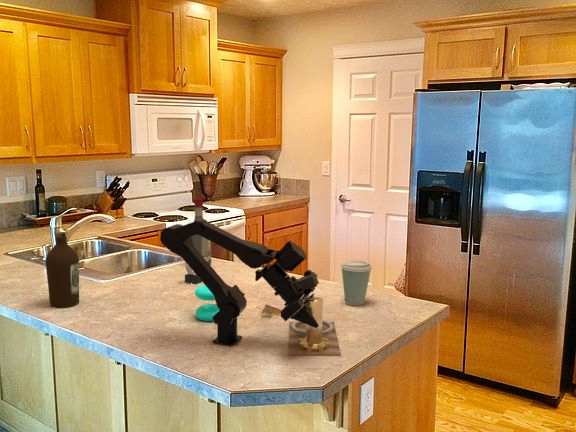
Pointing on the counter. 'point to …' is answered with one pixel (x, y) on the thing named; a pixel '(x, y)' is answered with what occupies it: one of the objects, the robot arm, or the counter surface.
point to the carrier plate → (299, 331)
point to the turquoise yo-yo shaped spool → (209, 309)
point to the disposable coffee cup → (355, 281)
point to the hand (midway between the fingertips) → (319, 324)
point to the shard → (270, 312)
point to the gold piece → (314, 335)
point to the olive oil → (62, 274)
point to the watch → (191, 276)
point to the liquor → (199, 241)
